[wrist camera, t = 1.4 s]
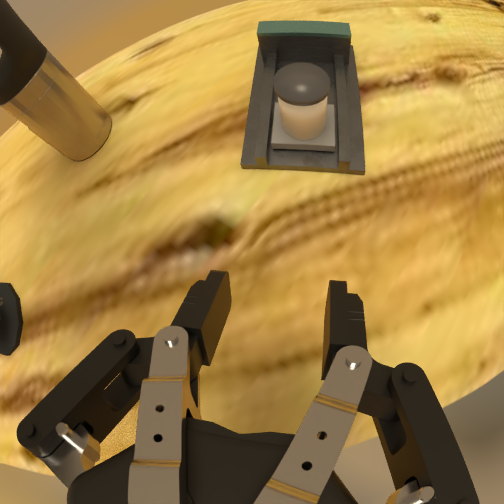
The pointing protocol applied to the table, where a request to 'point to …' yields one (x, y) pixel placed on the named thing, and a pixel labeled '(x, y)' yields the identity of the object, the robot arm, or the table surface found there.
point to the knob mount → (340, 95)
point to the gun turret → (9, 319)
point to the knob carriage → (303, 109)
